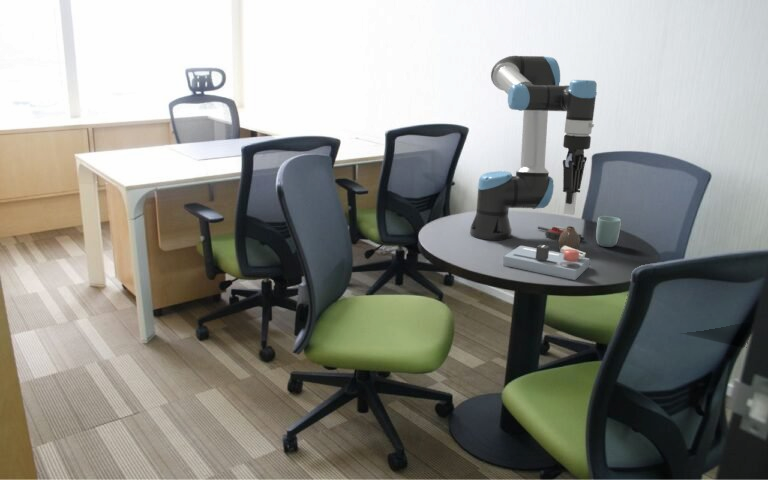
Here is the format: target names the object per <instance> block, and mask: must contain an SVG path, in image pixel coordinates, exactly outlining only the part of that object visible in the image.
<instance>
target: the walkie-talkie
mask: <svg viewBox="0 0 768 480" xmlns="http://www.w3.org/2000/svg"><path fill="white" fill-rule="evenodd" d="M536 228H537V230H542V231H545V233H544V235H545V238H546V239H551V240H554V241H558V242H559V237H560V235H561V234H562V232H563V231H564V230H565V229H566V228H567V227H562V226H558V225H555V226H553V227H551V228H547V227H543V226H537V227H536ZM577 234H578V236H579V240H580V242H582V241H584V240H585V237H584V236H583V237H582V233H577Z"/></svg>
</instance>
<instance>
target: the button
mask: <svg viewBox="0 0 768 480" xmlns="http://www.w3.org/2000/svg"><path fill="white" fill-rule="evenodd" d="M577 250H578V249H577ZM577 250H573V249H566V250H564V253H563V254H564V257H563V259H564V260H566V261H570V262H576V261H578V257H579V251H580V250H579V251H577Z"/></svg>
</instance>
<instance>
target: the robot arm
mask: <svg viewBox="0 0 768 480" xmlns="http://www.w3.org/2000/svg"><path fill="white" fill-rule="evenodd" d="M560 69H561V68H560V65H559V63H558V61H557V59H556V58H554V57H550V56H544V55H543V56H542V55H541V56H537V55H534V56H533V55H529V56H528V55H511V56H510V55H509V56H506V57H504V58H502V59H500V60H499V61H497V62H496V63H495V64H494V65H493V67H492V69H491V72H490V78H491V79H490V80H491V82H492V83H493V85H494V86H495V87H496V88H497V89H498V90H500V91H504V92H505V94H507V104H508V108H509V109H511V110H515V111H519V112H520V111H523V115H522V116H523V117H522V132H521V133H522V138H521V152H520V153H521V154H520V166H519V168H518V169H517V170H516V171H515V175H512V173H511V172H510V171H506V170H505V171H502V170H500V171H497V170H496V171H489V172H485V173H482V175H480V176H479V179H478V185H477V198H476V202H477V203H476V213H475V216H474V219H473V221H472V223H471V226H470V229H469V230H470V232H469V234H470V235H471V236H472V237H475V238H478V239H481V240H482V239H483V240H487V241H488V240H489V241H503V240H507V239H511V237H512V226H511V223H510V219H509V210H510V209H532V210H535V209H545V208H546V207H548V206H549V204H550V202H551V200H552V196H553V194H554V188H555V186H554V185H555V184H554V179H553V178H552V176H549V173H550V172H549V171H548V170H547V168H546V150H547V133H548V118H549V117H548V116H549V114H548V113H549V112H566V116H565V122H564V133H565V135H564V136H563V143H562V146H563V148H565V149H567V150H568V151H567V153H566V157H565V158H566V159H563V160H562V165H563V175H562V176H563V178H562V182H563V183H562V184H563V185H562V186H563V187H562V192H564V193H565V199H564V207H563V208H564V209H563V214H565V215H571V216H573V215H575V212H576V204H577V195H578V194H577V193H580V192H581V190H580V189H581V185H582V180H583V176H584V169H585V165H586V162H587V159H588V158H587V156H585V151H584V150H589V149H590V148H591V141H592V140H591V139H592V136H590V135H591V134H592V131H593V130H592V129H593V128H594V126H595V124H594V123H593V122H594V121H593V120H594V116H595V115H594V113H595V107H596V106H595V105H596V99H597V98H596V96H597V94H598V93H597V87H598V85H597V82H596V81H595V80H594V79H593V80H591V79H572V80H571V81H570V82H569V85H567V84H565V85H560V83H561V70H560Z"/></svg>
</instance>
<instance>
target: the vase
mask: <svg viewBox="0 0 768 480" xmlns="http://www.w3.org/2000/svg"><path fill="white" fill-rule="evenodd" d="M565 228H566V229H565V230H564V231H563V232H562V234H561V235H560V237H559V241H558V248H559V250H561V248H562V247H563V246H568V247H571V248H573V249H576V250H579V247H580V242H581V241H580V240H579V236H578V234H579V233H578V234H577V231H576V229H575V227H574V226H571V225H570V226H566V227H565Z"/></svg>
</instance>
